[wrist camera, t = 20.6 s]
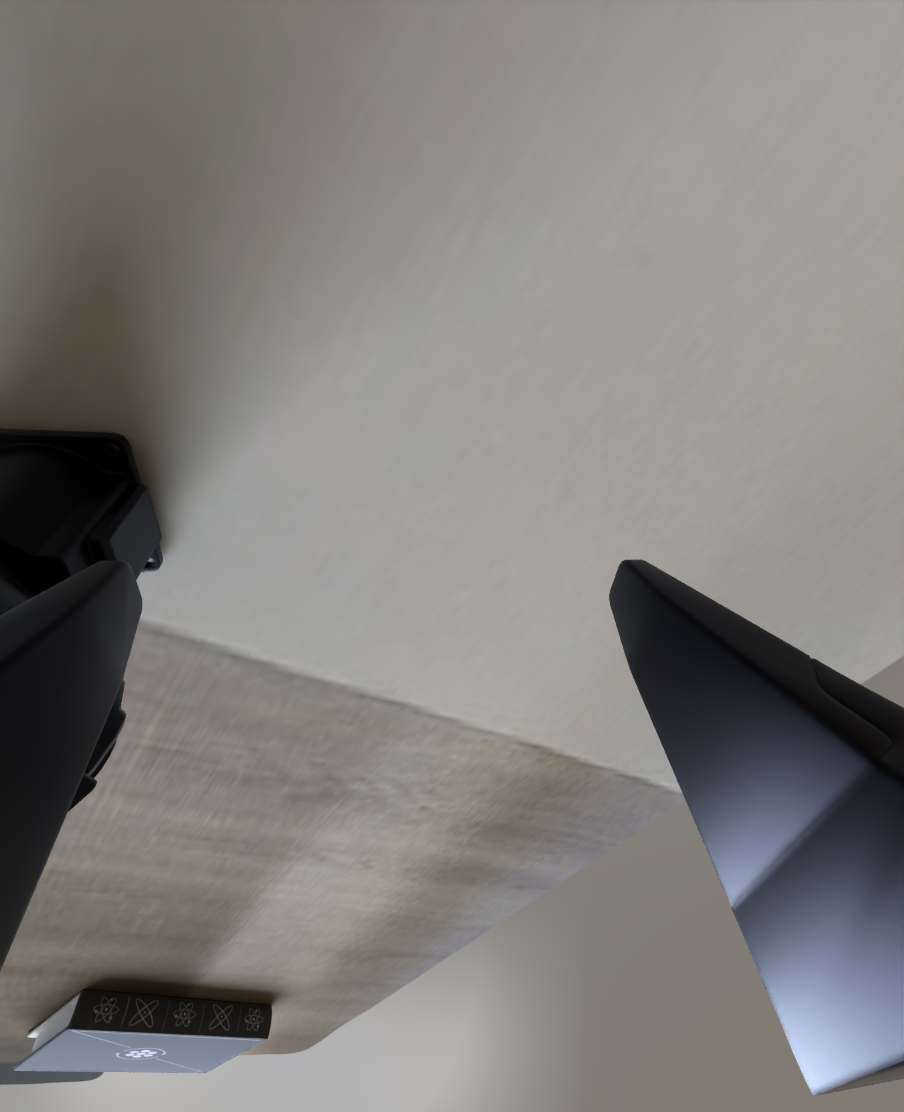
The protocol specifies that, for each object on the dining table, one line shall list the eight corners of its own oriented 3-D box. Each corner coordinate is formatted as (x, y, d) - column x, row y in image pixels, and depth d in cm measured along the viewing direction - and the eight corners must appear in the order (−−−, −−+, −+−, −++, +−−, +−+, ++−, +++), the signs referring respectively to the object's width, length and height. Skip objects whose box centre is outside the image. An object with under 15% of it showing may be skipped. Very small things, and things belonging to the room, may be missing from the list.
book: (274, 1004, 62) (270, 1038, 59) (211, 1041, 67) (205, 1073, 65) (83, 988, 51) (69, 1028, 49) (26, 1033, 57) (11, 1071, 54)
